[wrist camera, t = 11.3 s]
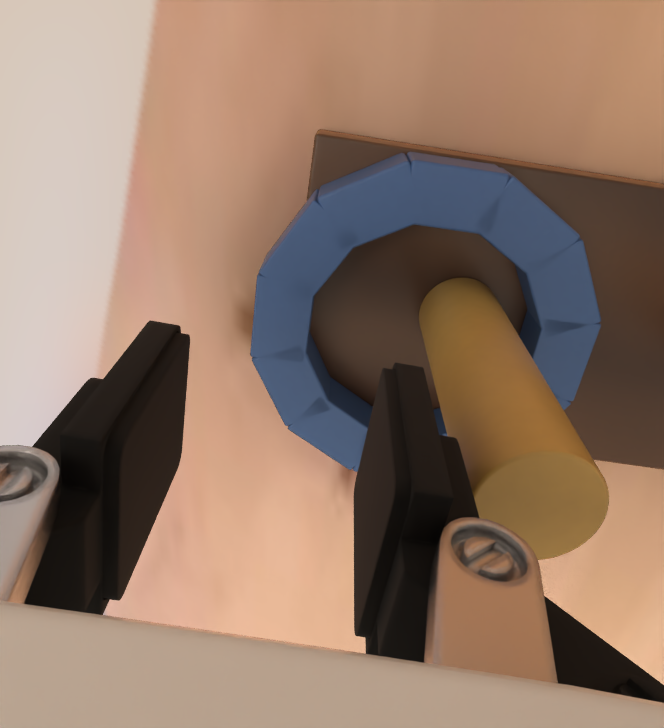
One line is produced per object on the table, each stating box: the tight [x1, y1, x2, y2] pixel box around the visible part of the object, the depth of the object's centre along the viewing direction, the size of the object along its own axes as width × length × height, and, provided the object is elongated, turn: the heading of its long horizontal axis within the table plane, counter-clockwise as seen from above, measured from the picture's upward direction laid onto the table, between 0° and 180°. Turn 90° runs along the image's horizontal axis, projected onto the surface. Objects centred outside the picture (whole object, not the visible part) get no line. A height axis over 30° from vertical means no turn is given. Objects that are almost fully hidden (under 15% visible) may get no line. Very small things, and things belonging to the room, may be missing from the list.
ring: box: [250, 152, 601, 472], centre depth 18 cm, size 10×10×2 cm
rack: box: [307, 129, 664, 560], centre depth 15 cm, size 9×19×10 cm, turn 82°
